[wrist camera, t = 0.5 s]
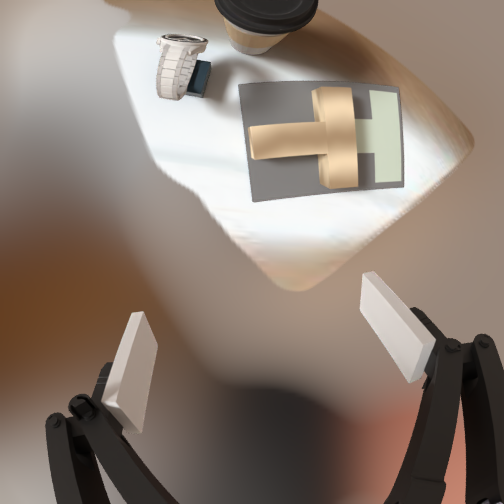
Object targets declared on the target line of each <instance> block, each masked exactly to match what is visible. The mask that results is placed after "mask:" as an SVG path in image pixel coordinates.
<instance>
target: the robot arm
mask: <svg viewBox="0 0 504 504" xmlns="http://www.w3.org/2000/svg"><path fill="white" fill-rule="evenodd" d="M360 311H361V312H362V314H363V315H364V317H365V318H366V320H367V321H368V322H369V324H370V325H371V327H372V328H373V330H374V331H375V333H376V334H377V336H378V337H379V338H380V340H381V342H382V343H383V345H384V346H385V348H386V349H387V351H388V352H389V354H390V355H391V357H392V358H393V360H394V361H395V363H396V364H397V366H398V367H399V369H400V370H401V372H402V374H403V375H404V377H405V378H406V380H407V381H408V383H411V382H414V381H416V380H418V379H421V377H422V374H423V372H424V371H425V373H426V374H427V378H426V380H425V383H424V385H423V387H422V389H424V391H423V395H422V400H421V404H420V408H419V412H418V416H417V420H416V423H415V427H414V430H413V433H412V437H411V440H410V443H409V446H408V449H407V452H406V455H405V458H404V461H403V463H402V466H401V469H400V471H399V474H398V476H397V479H396V481H395V483H394V486H393V488H392V491H391V493H390V494H389V496H388V498H387V499H386V500H385V502H384V504H441V502H442V499H443V496H444V493H445V489H446V483H445V482H444V476H445V473H446V469H447V465H448V461H449V457H450V453H451V449H452V444H453V439H454V434H455V428H456V423H457V416H458V409H459V403H460V402H459V401H460V394H461V401H462V409H463V417H464V428H465V443H466V495H465V496H466V497H465V499H466V500H465V502H466V504H504V370H503V367H502V363H501V361H500V358H499V354H498V351H497V349H496V346H495V343H494V341H493V339H492V338H491V337H490V336H488V335H486V334H478V335H477V336H476V337H475V338H474V341H473V342H471V343H464V344H461V343H460V342H459V341H458V340H456V339H453V338H446V337H445V336H444V334H443V333H442V332H441V331H440V330H439V329H438V328H437V327H436V326H435V324H434V323H432V321H431V320H430V319H429V318H428V317H427V316H426V315H425V313H424V312H423V311H421V310H419V309H417V308H416V307H413V308H410V309H409V308H408V307H407V306H406V305H405V304H404V303H403V302H402V301H401V299H399V297H398V296H397V295H396V294H395V293H394V292H393V291H392V290H391V289H390V288H389V287H388V285H387V284H386V283H385V282H384V281H383V280H382V279H381V278H380V277H379V276H378V275H377V274H376V273H375V272H374V271H371V272H367V273H363V277H362V290H361V302H360ZM157 348H158V344H157V342H156V340H155V338H154V335H153V333H152V331H151V329H150V326H149V324H148V321H147V319H146V316H145V315H144V312H135V313H132V314H131V317H130V319H129V322H128V324H127V328H126V330H125V332H124V335H123V338H122V340H121V343H120V346H119V348H118V352H117V354H116V357H115V360H114V362H108V363H106V364H105V365H104V367H103V368H102V369H101V372H100V374H99V378H98V380H97V384H96V386H95V389H94V392H93V395H92V397H91V398H90V397H89V396H88V395H86V394H79V395H76V396H75V397H73V398H72V399H71V401H70V402H69V406H68V409H69V411H70V412H71V414H72V415H73V417H69V418H65V416H63V414H61V413H53V414H51V415H50V416H49V417H48V418H47V420H46V425H45V427H46V440H47V449H48V457H49V464H50V471H51V477H52V482H53V487H54V491H55V497H56V501H57V504H111V503H110V501H109V498H108V496H107V492H106V490H105V487H104V484H103V481H102V477H101V474H100V471H99V468H98V464H97V460H96V457H95V454H96V456H97V458H98V460H99V461H100V463H101V465H102V466H103V468H104V470H105V471H106V473H107V474H108V476H109V478H110V479H111V481H112V482H113V484H114V485H115V487H116V488H117V490H118V491H119V493H120V494H121V495H122V497H123V499H124V500H125V501H126V502H127V504H179V503H178V502H177V501H176V500H175V499H174V497H172V495H171V494H170V493H169V492H168V491H167V490H166V489H165V488H164V487H163V485H162V484H161V483H160V482H159V481H158V480H157V479H156V477H155V476H154V475H153V474H152V473H151V471H150V470H149V469H148V468H147V466H146V465H145V464H144V463H143V461H142V460H141V459H140V457H139V456H138V455H137V453H136V452H135V451H134V449H133V448H132V447H131V445H130V444H129V443H128V441H127V440H126V438H125V437H124V436H123V435H122V430H123V428H124V429H125V430H126V431H127V432H128V433H134V434H141V433H142V430H143V423H144V416H145V411H146V405H147V398H148V393H149V388H150V383H151V377H152V372H153V367H154V362H155V357H156V353H157Z"/></svg>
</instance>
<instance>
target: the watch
mask: <svg viewBox="0 0 504 504" xmlns="http://www.w3.org/2000/svg"><path fill="white" fill-rule="evenodd" d="M156 44H159V45H160V52H162V54H161V57H160V61H159V65H158V70H157V76H156V88H157V94H158V96H159V98H163V99H169V100H177V101H178V100H180V99H181V98H182V97H183V96H184V95H190V96H195V97H201V98H203V94H204V91H205V88H206V84H207V81H208V78H209V74H210V71H211V62H207V61H201V60H196V59H197V56H198V53H202V52H204V51H205V49H206V45H207V44H208V40H207V39H205V38H202V37H198V36H192V35H184V34H169V35H163V36H161V38H158V39H157V42H156ZM160 65H163V66H160Z"/></svg>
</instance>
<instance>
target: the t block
mask: <svg viewBox="0 0 504 504" xmlns="http://www.w3.org/2000/svg"><path fill="white" fill-rule="evenodd" d="M311 92H312V100H313V109H314V118H315V122H301V123H284V124H271V125H260V126H251V127H248V134H249V142H250V151H251V158H253V159H254V160H259V159H268V158H277V157H288V156H300V155H313V154H318V164H319V180H320V184H321V185H323V186H325V187H327V188H329V189H336V188H348V187H358V163H357V144H356V130H355V118H354V108H353V99H352V91H351V88H348V87H319V88H317V89H315V90H313V91H311Z"/></svg>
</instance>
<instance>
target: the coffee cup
mask: <svg viewBox="0 0 504 504" xmlns="http://www.w3.org/2000/svg"><path fill="white" fill-rule="evenodd" d="M214 1H215V4H216V7H217V9H218V10H219V12H220V13H221V14H222V15H223V17H224V22H225V26H226V30H227V33H228V35H229V38H230V42H231V44H232V46H233V47H234V49H236V50H237V51H239V52H241V53H244V54H249V55H256V54H261V53H264V52H266V51H267V50H269V49H270V48H271V47H272V46H273V45H275V44H277V43H278V42H279V41H281V40H282V39H283V38H284V37H285V36H286V35H288V34H289V33H290V32H293V31H296V30H298V29H300V28H302V27H304V26H305V25H306V24H308V23H309V22H310V21H311V19H312V18H313V17H314V15H315V13H316V10H317V6H318V0H214Z"/></svg>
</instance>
